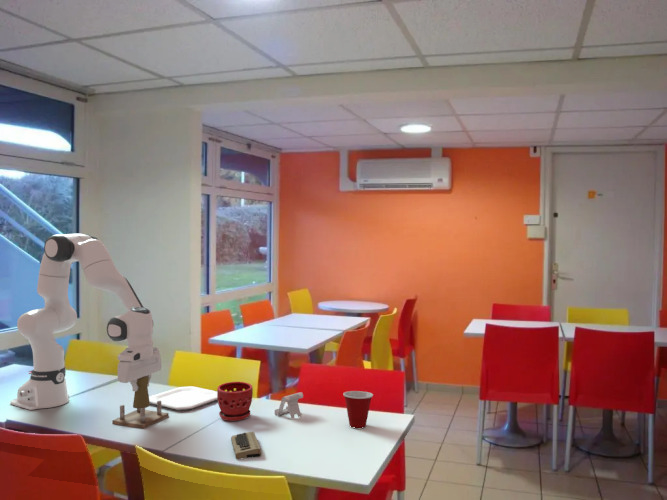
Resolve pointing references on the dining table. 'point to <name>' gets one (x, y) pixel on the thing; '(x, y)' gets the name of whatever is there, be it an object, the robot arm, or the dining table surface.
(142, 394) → the olive gourd
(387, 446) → the dining table surface
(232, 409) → the plant pot
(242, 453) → the computer
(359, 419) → the plastic cup
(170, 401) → the plate
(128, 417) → the standoff base
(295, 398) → the portable electronic device stand
